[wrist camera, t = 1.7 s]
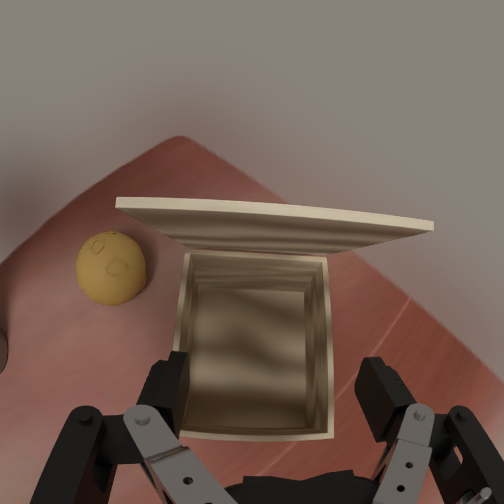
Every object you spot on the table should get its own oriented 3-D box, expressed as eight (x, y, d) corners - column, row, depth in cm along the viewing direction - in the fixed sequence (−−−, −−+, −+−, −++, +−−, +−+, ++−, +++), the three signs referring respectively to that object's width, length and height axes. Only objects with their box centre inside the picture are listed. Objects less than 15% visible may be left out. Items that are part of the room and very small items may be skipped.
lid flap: (433, 230, 13) (433, 221, 13) (115, 207, 13) (116, 196, 13) (326, 255, 33) (326, 250, 33) (186, 246, 33) (187, 242, 33)
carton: (308, 430, 32) (333, 437, 24) (182, 426, 32) (166, 434, 23) (306, 290, 42) (326, 257, 33) (194, 283, 41) (185, 248, 33)
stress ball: (134, 326, 38) (108, 301, 29) (82, 298, 39) (50, 269, 30) (164, 266, 42) (149, 228, 34) (112, 245, 44) (90, 206, 35)
